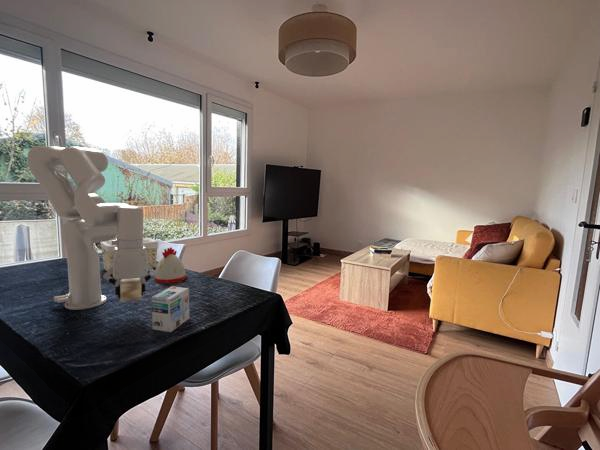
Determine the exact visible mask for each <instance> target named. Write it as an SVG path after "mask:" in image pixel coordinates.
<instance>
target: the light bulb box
mask: <svg viewBox="0 0 600 450" xmlns="http://www.w3.org/2000/svg"><path fill="white" fill-rule="evenodd" d="M151 314H152V315H151V318H152V330H155V331H161V332H167V333H172V332H173V331H175V330H176V329H177V328H179V327H180V326H181V325H183V323H185V322H187V321H188V320H189V319H190V288H188V287H181V286H174V285H173V286H170V287H169V288H166V289H164V290H162V291H160V292H159V293H156V294H155V295H153V296H151Z"/></svg>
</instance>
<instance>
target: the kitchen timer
mask: <svg viewBox="0 0 600 450" xmlns="http://www.w3.org/2000/svg"><path fill="white" fill-rule="evenodd" d="M163 250H164V252H161V254H162V256H163V257H162V258H160V260H159V261H158V262H156V267H155V269H154V270H155V271H156V273H155V274H154V275H153V279H154V282H156V283H161V284H171V283H172V284H173V283H177V282H182V281H184V280H185V279H186V278H187V273H186V269H185V265H184V263H183V262H182V260H181V259H180V257H178V256H177V250H175V249H174V248H172V247H167V248H164V249H163Z"/></svg>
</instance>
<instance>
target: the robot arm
mask: <svg viewBox="0 0 600 450" xmlns="http://www.w3.org/2000/svg"><path fill="white" fill-rule="evenodd" d="M26 159H27V165H28V168H29V170H30V173H31V174H32V176H33V178H34V179H35V181H37V182H38V184H39V186H41V187H42V189H43V190H44V192H45V194H46V196H47V198H48V200H49V202H50V205H51V206H52V207H53V210H54V211H55V213H56V214H57V216H58V217H59V218H60V219H64V220H68V221H66V222H64V223H63V225H62V226H61V230H60V231H61V237H62V240H63V243H64V247H65V254H66V263H67V274H68V275H67V276H68V289H69V291H68V293H66V294H65V295H56V296H54V297H53V302H54V303H56V302H57V303H58V304H59V303H64V302H65V303H64V307H65V309H68V310H71V311H72V310H73V311H75V310H76V311H77V310H78V311H79V310H80V311H81V310H86V309H87V310H88V309H91V308H95V307H98V306H101V305H103V304H105V303H106V302H107V300H108V299H107V295H104V294H102V280H101V279H102V278H103V279H105V280H106V281H107V282H109V283H110V284H111V285H112V286H114V287H115V289H114V291H115V296H117V299H120V281H121V279H130V278H139V277H140V279H141V296H144V292H145V293H146V284H147V282H148V281H149V280H150V279H151V278H152V277H154V274H155V273H156V271H155V270H156V269H154V268H152V267H150V266H149V265H148V260H147V251H146V247H145V246H143V238H144V211H143V208H142V207H141V206H136V205H130V204H128V203H124V202H110V203H109V202H107V203H106V202H105V200H104V199H103V198H102V196H100V195H99V194H96V192H97V191H99V190H101V189H102V188H103V187H104V185H105V184H106V178H105V176H104V175H103V172H105V171H106V170H107V169H108V165H109V161H108V158H107V155H106V154H105V153H104V152H103V151H101V150H99V149H96V148H89V147H81V146H67V147H65V146H64V147H61V146H54V145H37V146H33V147H32V148H30V149H29V150H28V153H27V158H26ZM59 171H66V172H67V174H68V176H69V177H70V178H71V179H72V181H73V182H74V184H75V185H76V189H75V186H74V185H73V183H72V181H70V179H69V178H68V177H66V176H65V175H64V174H63V173H61V172H59ZM110 240H114V241H112V245H116V246H117V247H115V249H114V253H113V266H112V267H111V268H110V269H109V270H108V271H106V272H104V274H103V275H102V278H101V263H100V254H99V252H98V250H96V248H95V247H94V246H93V244H98V243H101V242H105V241H110ZM112 273H113V274H112ZM111 275H112V277H111Z"/></svg>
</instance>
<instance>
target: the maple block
mask: <svg viewBox="0 0 600 450" xmlns="http://www.w3.org/2000/svg"><path fill="white" fill-rule="evenodd" d="M119 299H120V300H119V301H120V303H122V302H123V303H125V302H132V301H139V300H142V295H141V279H140V277H139V278H130V279H121V281H120V298H119Z"/></svg>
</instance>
